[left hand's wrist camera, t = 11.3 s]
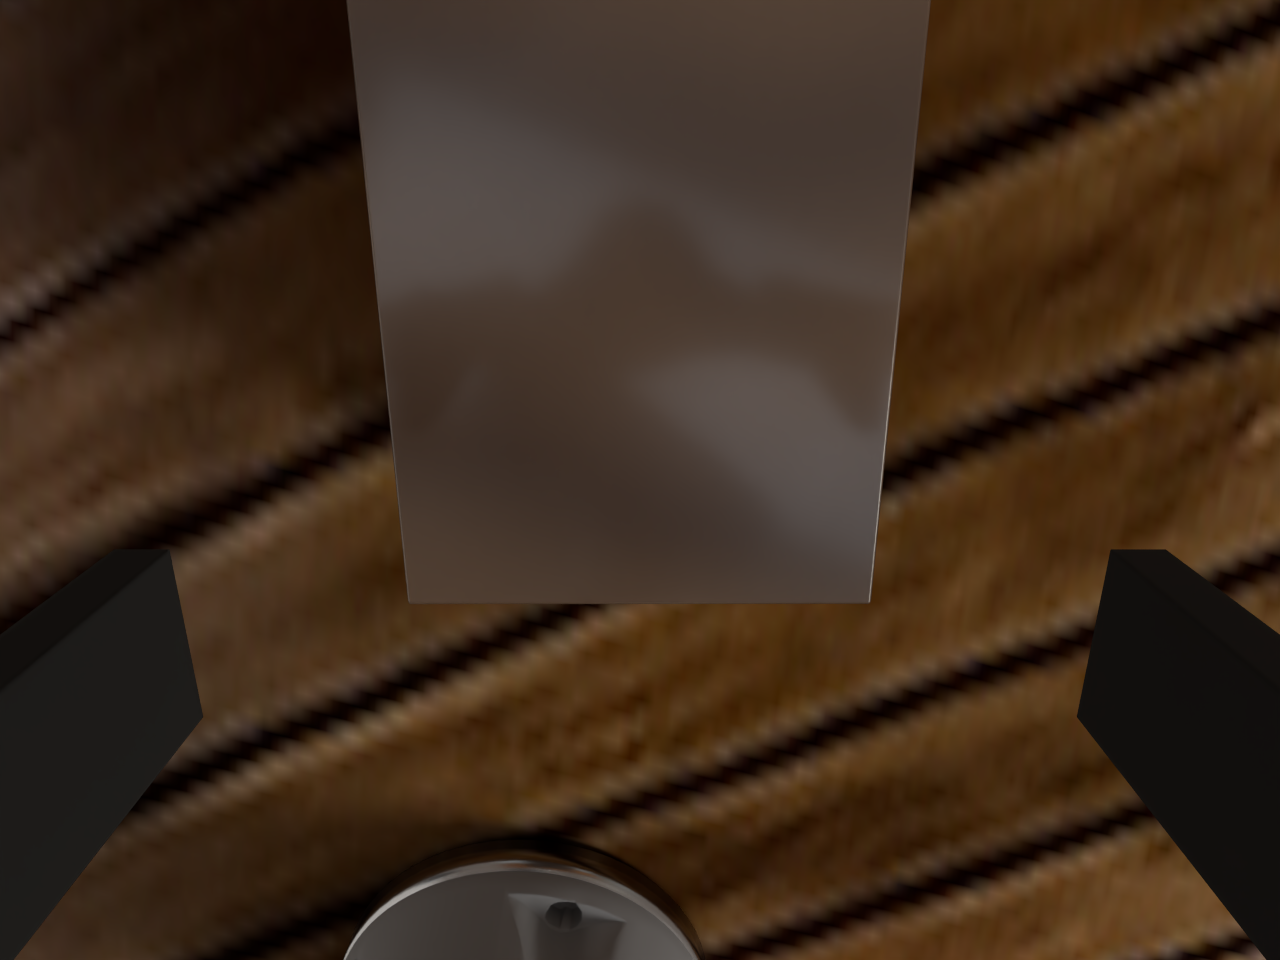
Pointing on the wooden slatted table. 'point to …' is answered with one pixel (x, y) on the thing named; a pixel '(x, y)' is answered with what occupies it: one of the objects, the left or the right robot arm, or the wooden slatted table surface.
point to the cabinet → (638, 290)
